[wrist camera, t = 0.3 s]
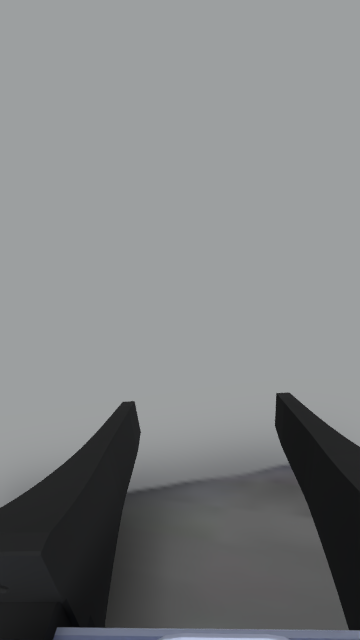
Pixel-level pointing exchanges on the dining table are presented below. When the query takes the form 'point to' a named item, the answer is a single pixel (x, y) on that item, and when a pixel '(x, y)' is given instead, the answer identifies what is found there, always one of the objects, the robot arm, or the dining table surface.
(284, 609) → the dining table surface
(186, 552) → the dining table surface
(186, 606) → the dining table surface
